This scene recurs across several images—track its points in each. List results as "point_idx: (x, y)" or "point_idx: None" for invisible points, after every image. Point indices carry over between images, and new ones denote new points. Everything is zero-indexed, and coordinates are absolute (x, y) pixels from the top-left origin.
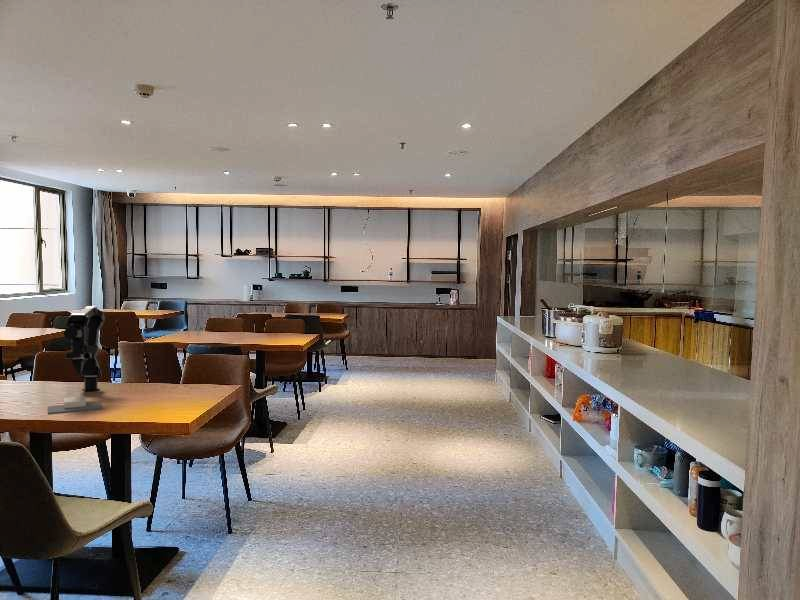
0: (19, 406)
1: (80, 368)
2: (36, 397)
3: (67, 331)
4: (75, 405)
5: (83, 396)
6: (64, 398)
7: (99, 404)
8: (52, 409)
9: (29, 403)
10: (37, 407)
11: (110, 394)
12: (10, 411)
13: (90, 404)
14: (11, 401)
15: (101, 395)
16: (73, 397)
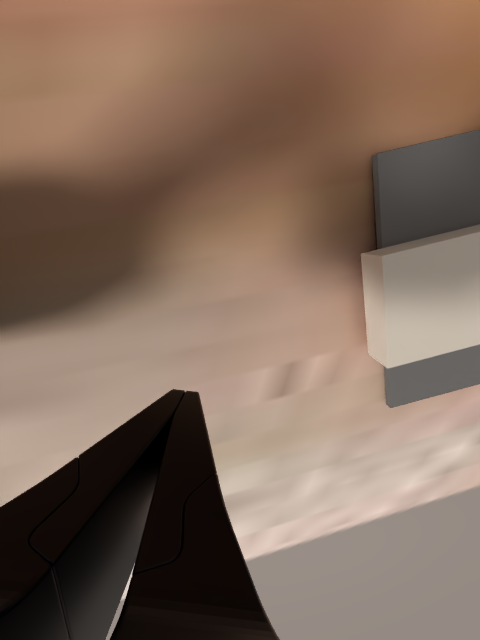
0: (303, 509)
1: (210, 453)
2: None
3: None
4: None
5: (386, 261)
6: (404, 361)
7: (462, 143)
8: (469, 370)
9: (250, 497)
10: (349, 445)
11: (46, 114)
12: (386, 506)
13: (438, 204)
14: None
15: (84, 185)
16: (394, 317)
